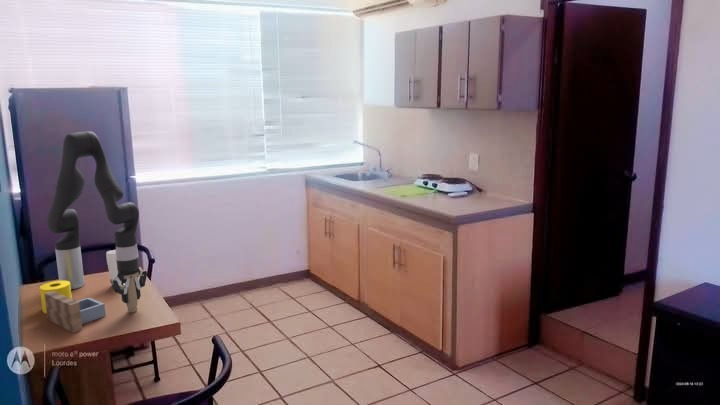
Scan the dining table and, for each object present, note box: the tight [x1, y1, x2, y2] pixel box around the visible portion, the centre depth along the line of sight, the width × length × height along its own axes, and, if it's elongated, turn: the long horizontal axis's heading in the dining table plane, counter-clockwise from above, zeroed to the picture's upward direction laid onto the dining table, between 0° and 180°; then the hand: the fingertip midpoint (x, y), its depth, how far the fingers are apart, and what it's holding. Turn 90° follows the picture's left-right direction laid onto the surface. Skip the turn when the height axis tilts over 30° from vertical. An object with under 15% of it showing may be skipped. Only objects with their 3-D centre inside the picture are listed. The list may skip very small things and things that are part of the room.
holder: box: [76, 297, 107, 325], centre depth 191 cm, size 11×11×5 cm
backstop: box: [44, 291, 83, 334], centre depth 184 cm, size 19×3×10 cm, turn 54°
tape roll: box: [39, 280, 73, 314], centre depth 198 cm, size 10×10×9 cm
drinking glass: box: [105, 249, 121, 287], centre depth 222 cm, size 7×7×15 cm
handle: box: [124, 272, 140, 313], centre depth 195 cm, size 5×6×15 cm
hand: (131, 300), depth 195 cm, fingers closed on handle, 4 cm apart
